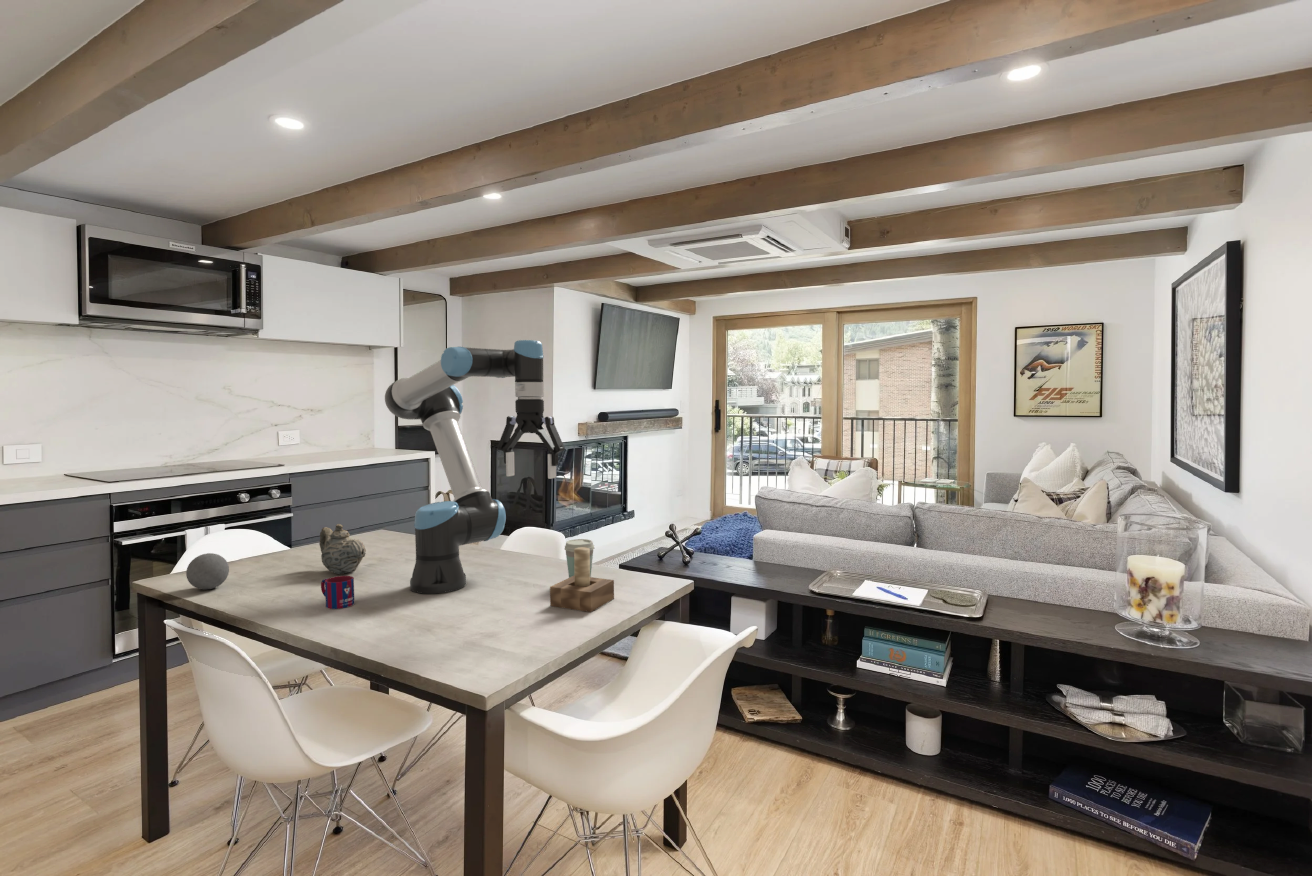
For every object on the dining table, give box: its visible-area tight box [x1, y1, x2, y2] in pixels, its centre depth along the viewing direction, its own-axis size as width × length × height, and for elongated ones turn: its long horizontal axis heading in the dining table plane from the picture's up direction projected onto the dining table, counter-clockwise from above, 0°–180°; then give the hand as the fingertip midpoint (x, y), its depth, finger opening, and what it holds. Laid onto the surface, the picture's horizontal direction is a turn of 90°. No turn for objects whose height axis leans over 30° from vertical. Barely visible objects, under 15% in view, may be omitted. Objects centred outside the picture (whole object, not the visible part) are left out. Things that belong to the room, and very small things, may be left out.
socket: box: [549, 576, 615, 613], centre depth 172 cm, size 12×12×5 cm
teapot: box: [318, 523, 367, 575], centre depth 203 cm, size 21×12×15 cm, turn 58°
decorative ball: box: [185, 552, 230, 591], centre depth 186 cm, size 10×10×10 cm
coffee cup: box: [564, 538, 595, 578], centre depth 189 cm, size 9×9×12 cm
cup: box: [320, 575, 355, 610], centre depth 172 cm, size 7×10×7 cm
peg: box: [574, 547, 590, 587], centre depth 172 cm, size 4×4×14 cm
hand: (531, 477), depth 179 cm, fingers open, 13 cm apart
